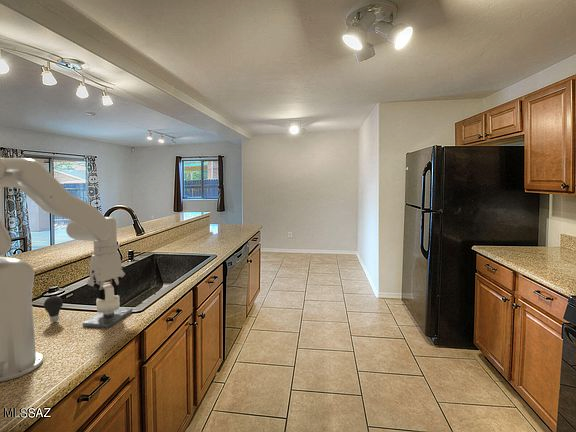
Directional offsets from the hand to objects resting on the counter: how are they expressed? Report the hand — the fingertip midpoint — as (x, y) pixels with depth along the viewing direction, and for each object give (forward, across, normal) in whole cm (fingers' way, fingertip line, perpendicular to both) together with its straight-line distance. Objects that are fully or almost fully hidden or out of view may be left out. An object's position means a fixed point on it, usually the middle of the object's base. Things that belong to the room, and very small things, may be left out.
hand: (107, 296), depth 115 cm
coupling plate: (+9, 0, 0) cm, 9 cm away
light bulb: (+9, +11, -15) cm, 21 cm away
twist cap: (+5, 0, 0) cm, 5 cm away
